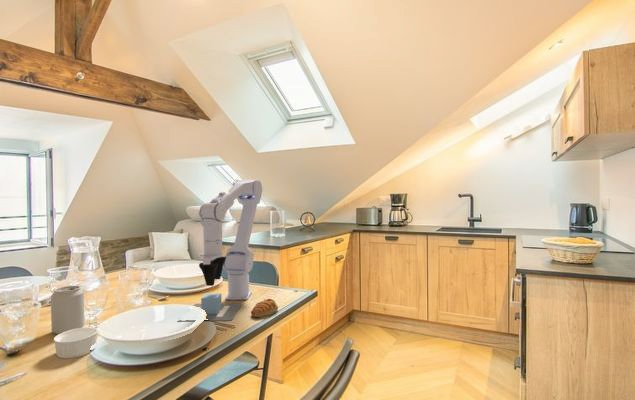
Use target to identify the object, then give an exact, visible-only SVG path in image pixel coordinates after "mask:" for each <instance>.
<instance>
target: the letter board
mask: <svg viewBox="0 0 635 400" xmlns="http://www.w3.org/2000/svg"><path fill="white" fill-rule="evenodd" d="M221 304H222V309H221V310H220V311H219V313H218V314H207V316H206V319H208V320H210V321H209V322H232V320H233V318H235V316H236V314H237V313H238V311H239V310H240V308H241V306H242V305H243V302H233V303H231V302H230V303H229V302H228V303H227V302H221ZM192 306H196V307H200V308H201V303H194V304H193V305H192Z"/></svg>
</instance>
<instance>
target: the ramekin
mask: <svg viewBox="0 0 635 400" xmlns="http://www.w3.org/2000/svg"><path fill="white" fill-rule="evenodd" d="M98 332H99V329H98V328H96V327H94V326H93V327H92V326H91V327H90V326H89V327H86V326H83V327H82V328H77V329H73V330H69V331H66V332H63V333H61V334H59V335H57V334H56V335H55V336H54V338H53V343H54V346H55V353H56V357H58V358H60V359H75V358H79V357H82V356H85V355H88V354H90V353H91V352H90V348H91V346H92V345H94V344H95V343H96V344H97V342H96V341H97V336H98Z"/></svg>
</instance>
